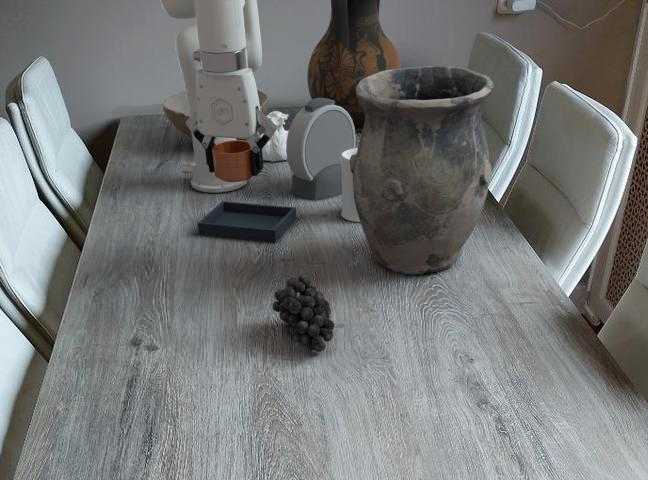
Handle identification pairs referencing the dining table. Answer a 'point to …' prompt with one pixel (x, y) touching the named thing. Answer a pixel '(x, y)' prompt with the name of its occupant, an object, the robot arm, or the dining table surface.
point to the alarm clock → (319, 148)
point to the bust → (276, 139)
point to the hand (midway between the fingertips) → (235, 171)
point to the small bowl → (232, 160)
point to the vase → (350, 55)
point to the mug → (348, 188)
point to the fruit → (305, 313)
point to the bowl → (179, 112)
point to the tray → (247, 221)
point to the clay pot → (421, 164)
